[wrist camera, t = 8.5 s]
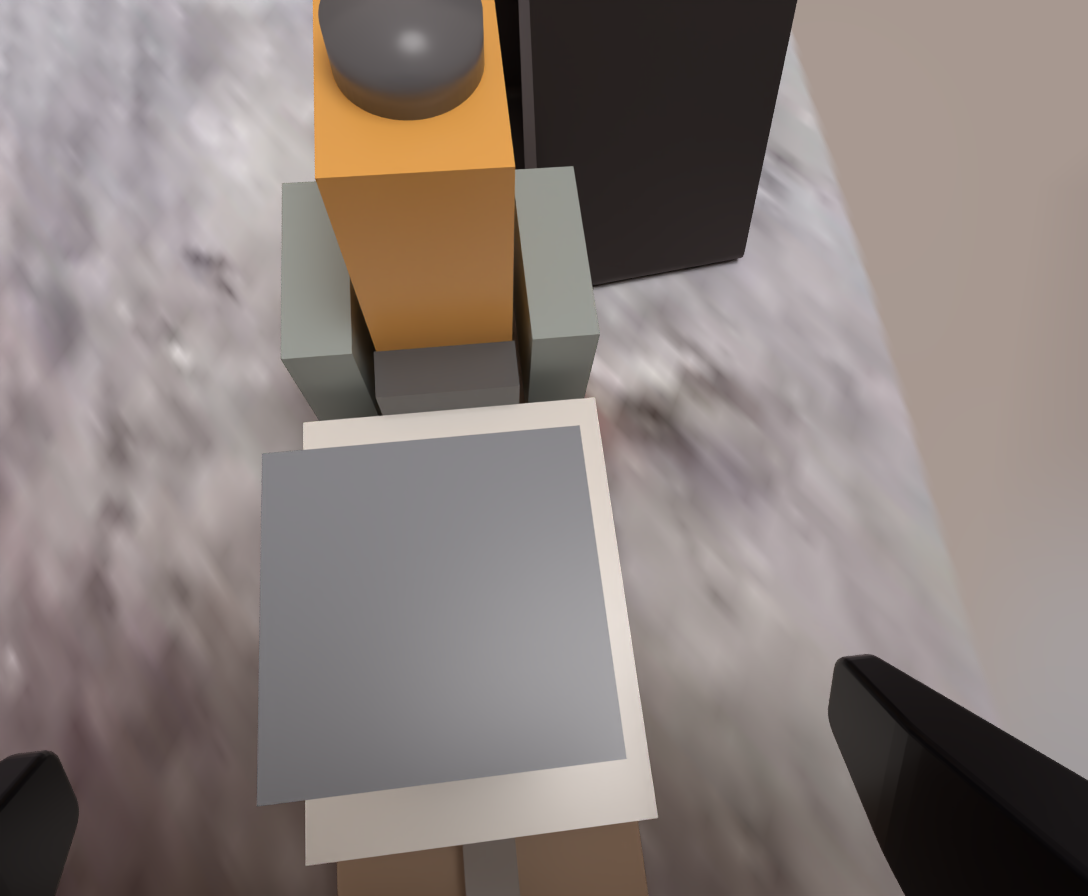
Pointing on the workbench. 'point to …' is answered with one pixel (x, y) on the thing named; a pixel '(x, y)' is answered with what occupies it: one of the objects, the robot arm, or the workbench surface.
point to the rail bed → (509, 856)
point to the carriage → (446, 618)
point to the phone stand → (648, 118)
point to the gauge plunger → (417, 166)
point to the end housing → (538, 294)
